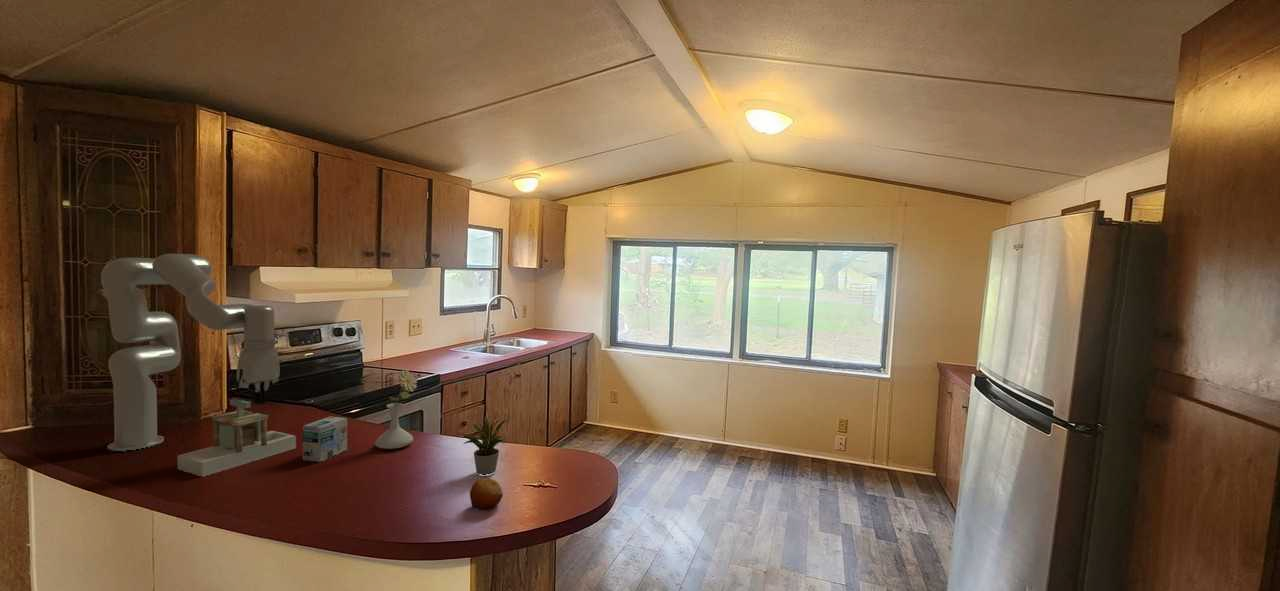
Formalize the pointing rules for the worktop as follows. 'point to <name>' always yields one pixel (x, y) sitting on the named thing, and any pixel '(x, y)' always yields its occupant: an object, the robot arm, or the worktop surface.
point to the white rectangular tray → (234, 455)
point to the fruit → (485, 494)
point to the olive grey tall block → (229, 431)
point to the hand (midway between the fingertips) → (259, 403)
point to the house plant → (486, 447)
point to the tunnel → (239, 426)
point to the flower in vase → (395, 434)
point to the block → (247, 436)
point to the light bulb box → (324, 438)
